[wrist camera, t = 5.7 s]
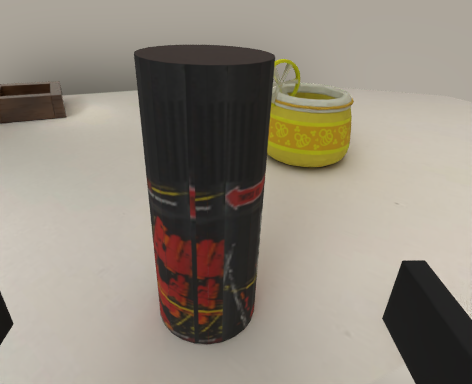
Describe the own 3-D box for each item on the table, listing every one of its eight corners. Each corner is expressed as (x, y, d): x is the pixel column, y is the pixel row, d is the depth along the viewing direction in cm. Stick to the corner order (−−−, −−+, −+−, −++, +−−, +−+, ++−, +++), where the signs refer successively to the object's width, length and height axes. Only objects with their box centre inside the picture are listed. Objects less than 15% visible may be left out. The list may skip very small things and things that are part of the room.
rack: (-10, 124, 50) (-18, 99, 48) (-3, 106, 58) (-9, 84, 56) (66, 117, 54) (61, 94, 52) (63, 101, 62) (59, 81, 60)
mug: (341, 143, 48) (359, 50, 42) (350, 178, 39) (375, 65, 33) (249, 135, 50) (254, 44, 44) (237, 166, 40) (242, 57, 34)
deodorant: (153, 282, 24) (127, 45, 16) (235, 264, 25) (245, 44, 18) (169, 356, 19) (143, 67, 11) (269, 328, 21) (301, 63, 13)
